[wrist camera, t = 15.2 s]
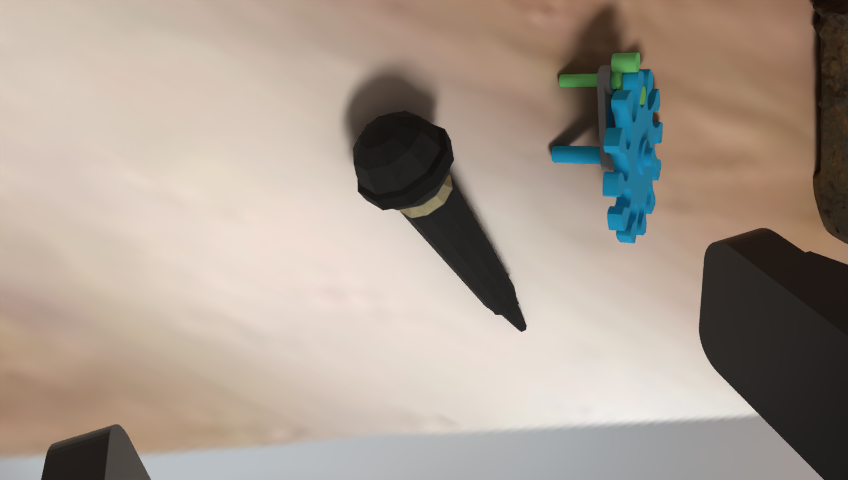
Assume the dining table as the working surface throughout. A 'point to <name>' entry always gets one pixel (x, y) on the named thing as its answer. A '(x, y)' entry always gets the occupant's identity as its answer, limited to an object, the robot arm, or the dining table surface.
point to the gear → (622, 140)
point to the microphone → (431, 202)
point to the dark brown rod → (833, 117)
